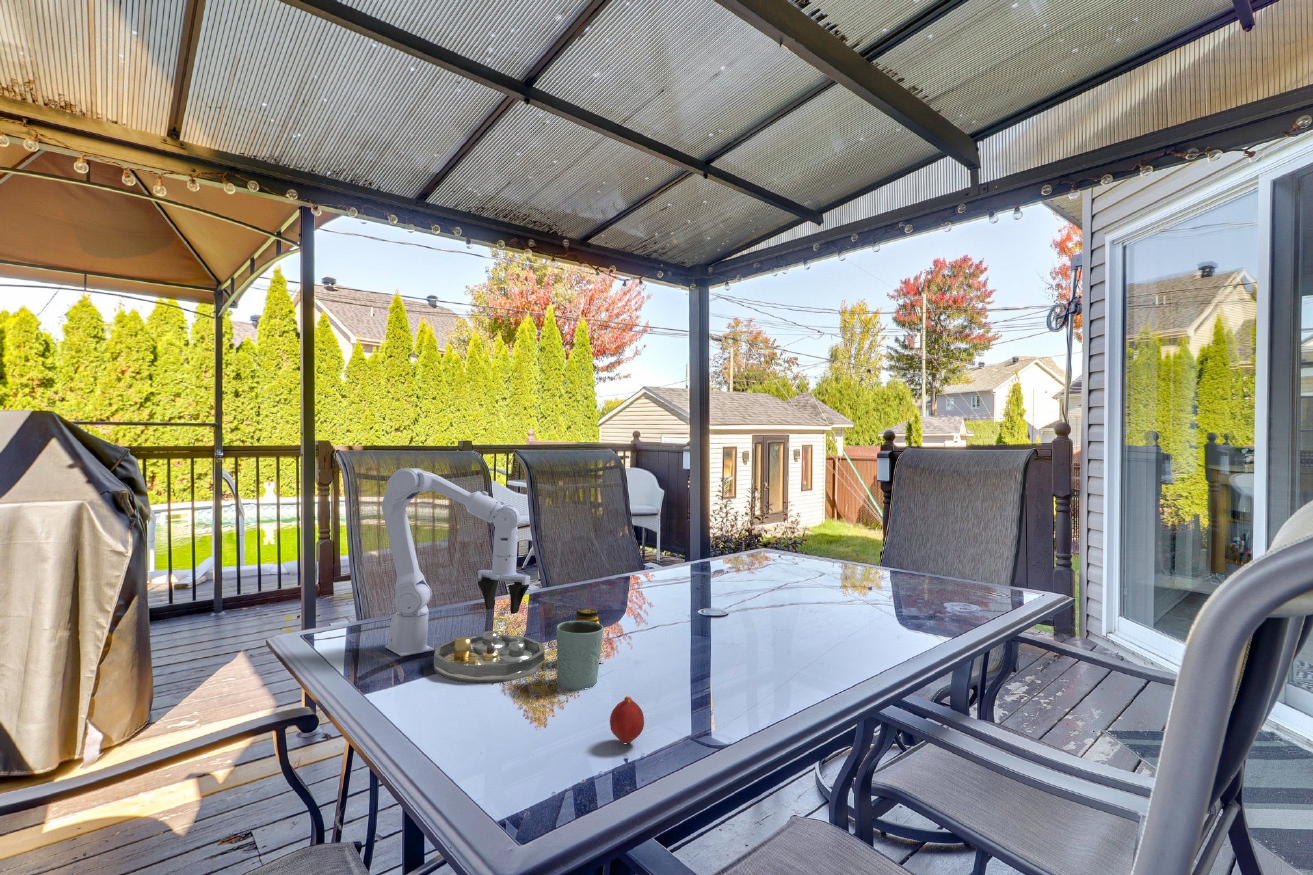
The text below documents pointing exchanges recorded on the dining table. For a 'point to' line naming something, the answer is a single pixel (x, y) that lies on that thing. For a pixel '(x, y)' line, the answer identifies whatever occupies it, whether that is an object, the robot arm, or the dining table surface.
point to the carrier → (492, 659)
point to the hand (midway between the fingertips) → (501, 610)
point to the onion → (627, 720)
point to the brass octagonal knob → (463, 652)
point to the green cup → (578, 654)
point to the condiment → (587, 615)
